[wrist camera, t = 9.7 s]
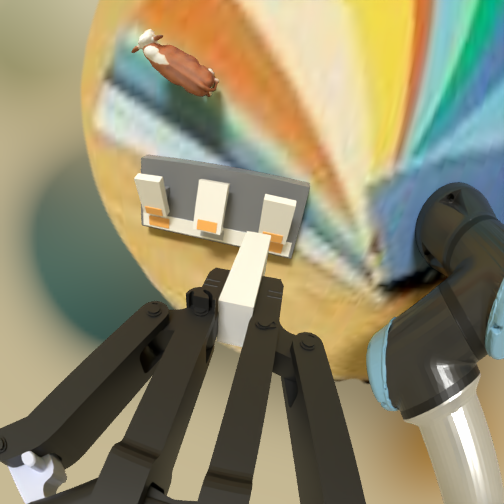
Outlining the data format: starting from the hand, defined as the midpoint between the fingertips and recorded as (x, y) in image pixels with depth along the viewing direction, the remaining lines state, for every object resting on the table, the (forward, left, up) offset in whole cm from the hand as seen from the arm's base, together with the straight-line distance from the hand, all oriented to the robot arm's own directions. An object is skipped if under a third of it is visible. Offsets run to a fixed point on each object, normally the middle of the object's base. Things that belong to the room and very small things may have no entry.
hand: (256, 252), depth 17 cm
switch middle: (+8, +6, -19) cm, 21 cm away
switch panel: (+8, +7, -23) cm, 26 cm away
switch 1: (+17, +6, -19) cm, 26 cm away
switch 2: (-1, +6, -19) cm, 20 cm away
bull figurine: (+15, -13, -24) cm, 31 cm away
